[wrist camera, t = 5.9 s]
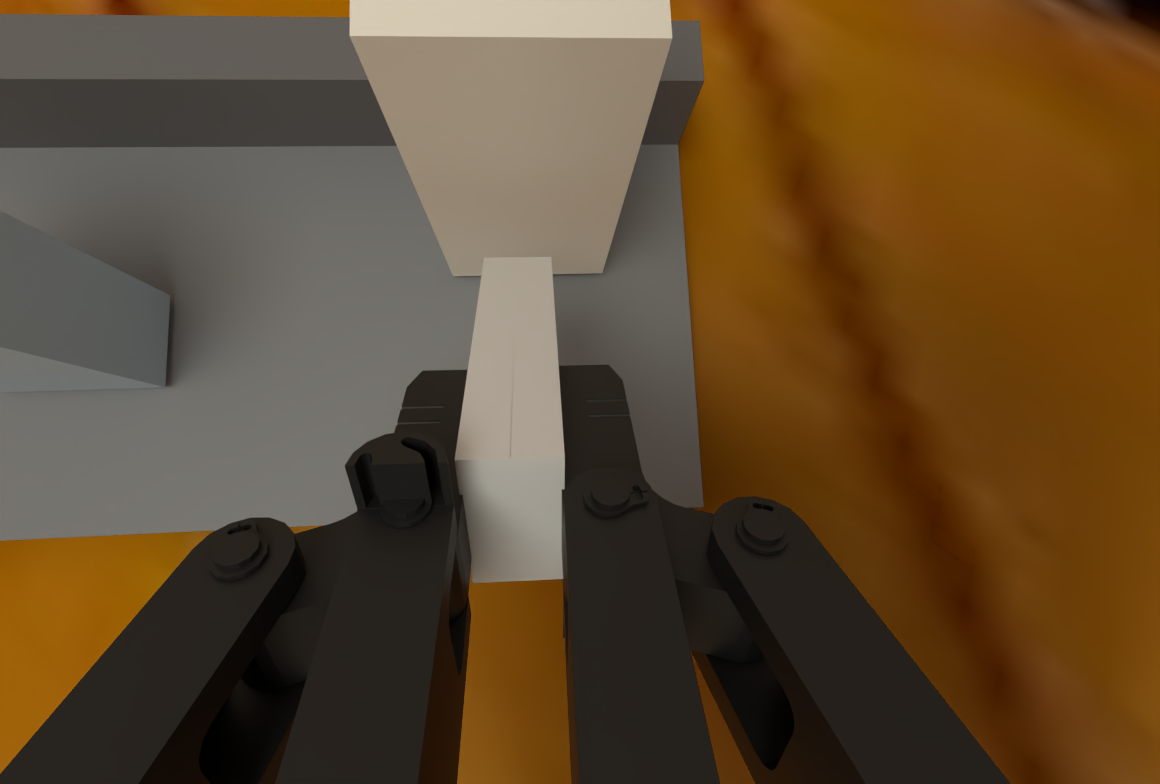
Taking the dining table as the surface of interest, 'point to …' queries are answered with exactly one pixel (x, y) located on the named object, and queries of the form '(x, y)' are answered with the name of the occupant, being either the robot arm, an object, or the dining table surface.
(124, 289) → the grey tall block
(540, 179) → the cream key
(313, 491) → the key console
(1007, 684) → the dining table surface
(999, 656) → the dining table surface
